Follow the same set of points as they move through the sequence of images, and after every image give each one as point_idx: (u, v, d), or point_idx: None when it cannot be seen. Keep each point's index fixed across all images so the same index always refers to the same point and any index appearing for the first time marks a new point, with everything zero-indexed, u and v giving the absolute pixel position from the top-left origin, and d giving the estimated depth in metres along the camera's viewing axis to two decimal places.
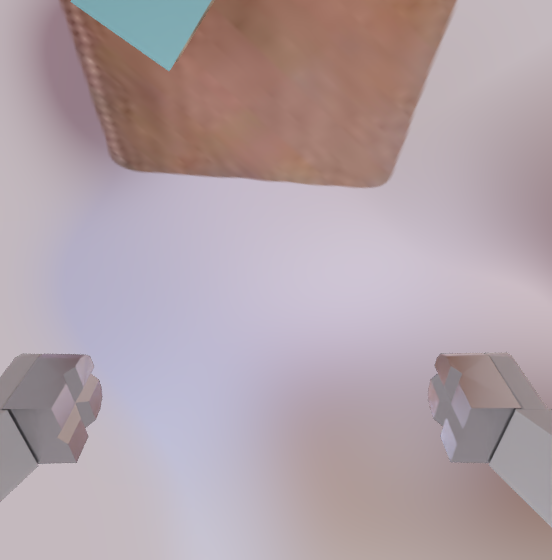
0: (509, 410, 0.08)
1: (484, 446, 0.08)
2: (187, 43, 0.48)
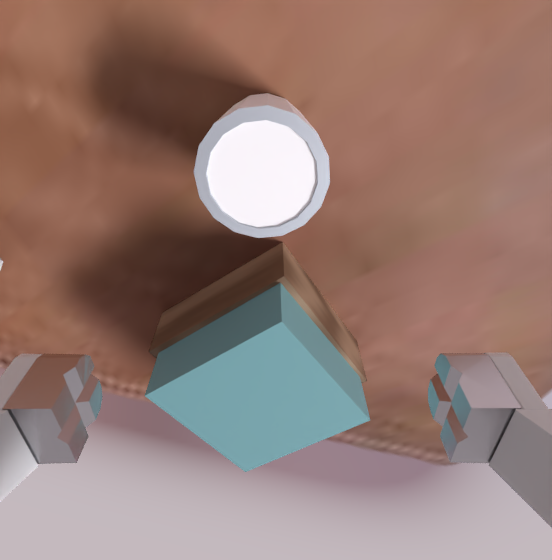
0: (509, 410, 0.08)
1: (484, 446, 0.08)
2: (350, 361, 0.31)
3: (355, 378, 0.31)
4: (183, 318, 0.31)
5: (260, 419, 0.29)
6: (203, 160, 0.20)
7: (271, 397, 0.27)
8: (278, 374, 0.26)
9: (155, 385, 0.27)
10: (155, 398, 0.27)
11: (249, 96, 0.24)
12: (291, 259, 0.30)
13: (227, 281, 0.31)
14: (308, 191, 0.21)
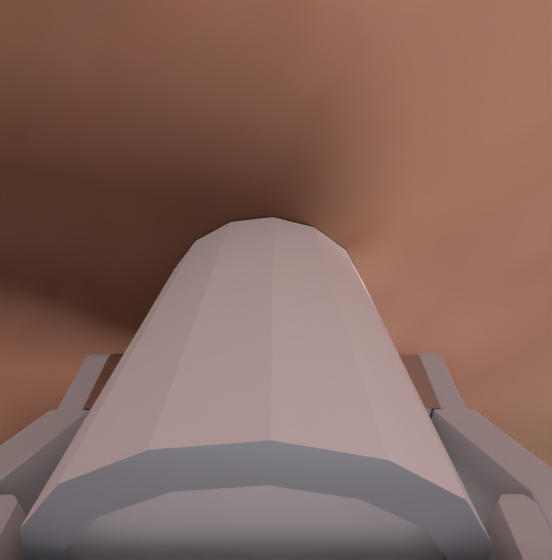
0: (428, 410, 0.08)
1: None
2: None
3: None
4: None
5: None
6: None
7: None
8: None
9: None
10: None
11: (227, 234, 0.10)
12: None
13: None
14: None
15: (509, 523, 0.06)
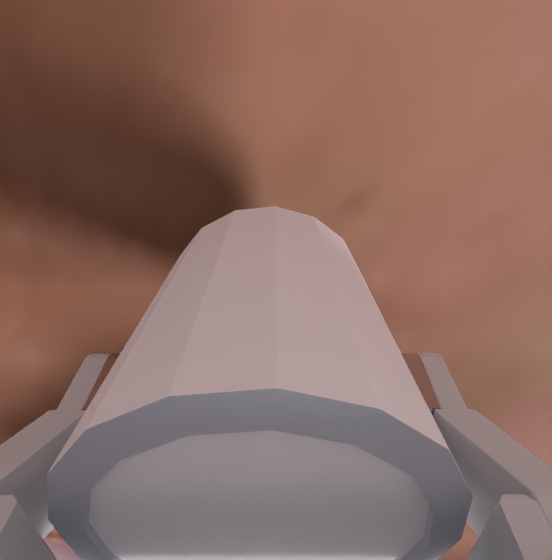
0: None
1: None
2: None
3: None
4: None
5: None
6: (69, 506, 0.06)
7: None
8: None
9: None
10: None
11: (232, 221, 0.10)
12: None
13: None
14: (394, 551, 0.07)
15: (510, 523, 0.06)
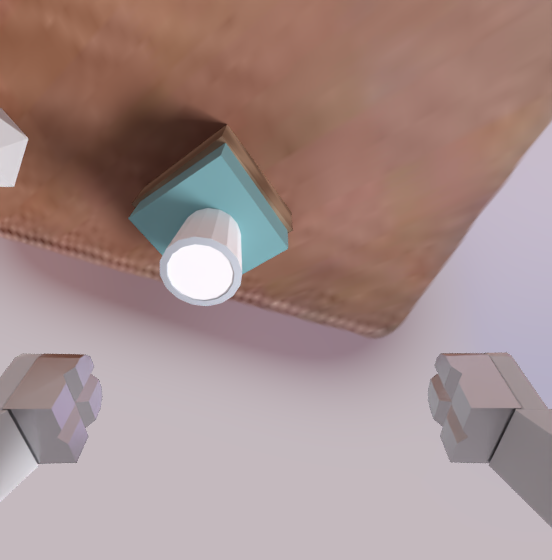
0: (509, 410, 0.08)
1: (484, 446, 0.08)
2: (278, 211, 0.43)
3: (282, 226, 0.43)
4: (157, 181, 0.43)
5: None
6: (164, 268, 0.34)
7: None
8: (220, 202, 0.38)
9: (135, 211, 0.39)
10: (135, 221, 0.39)
11: (195, 213, 0.37)
12: (233, 136, 0.42)
13: (188, 155, 0.43)
14: (230, 277, 0.34)
15: None
